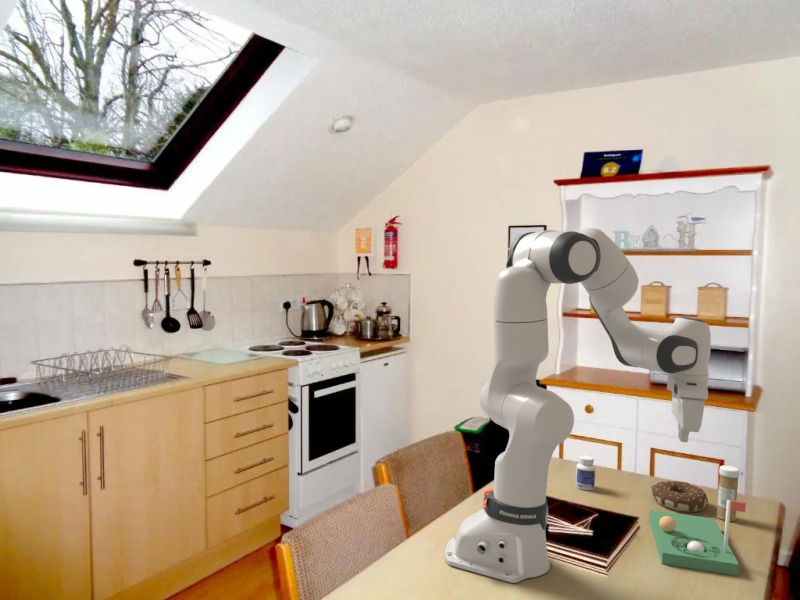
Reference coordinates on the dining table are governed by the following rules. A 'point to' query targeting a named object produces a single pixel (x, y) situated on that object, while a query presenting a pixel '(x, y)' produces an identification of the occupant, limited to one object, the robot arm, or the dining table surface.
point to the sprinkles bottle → (727, 490)
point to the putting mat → (699, 530)
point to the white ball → (695, 546)
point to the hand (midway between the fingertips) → (682, 440)
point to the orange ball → (667, 523)
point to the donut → (679, 496)
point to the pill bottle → (585, 473)
